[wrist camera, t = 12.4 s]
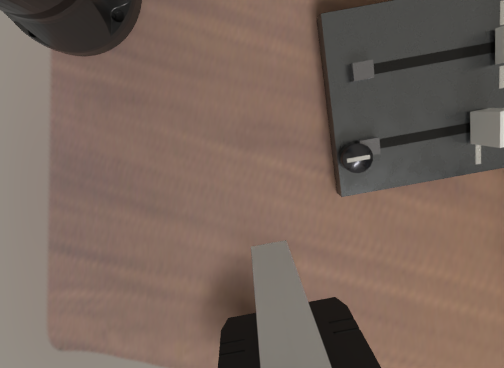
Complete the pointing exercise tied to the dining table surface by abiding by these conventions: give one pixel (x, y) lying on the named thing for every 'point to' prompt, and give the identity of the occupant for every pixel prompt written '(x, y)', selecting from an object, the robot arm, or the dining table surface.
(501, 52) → the block
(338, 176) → the console board
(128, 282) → the dining table surface
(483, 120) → the fader
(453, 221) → the dining table surface
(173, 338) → the dining table surface
